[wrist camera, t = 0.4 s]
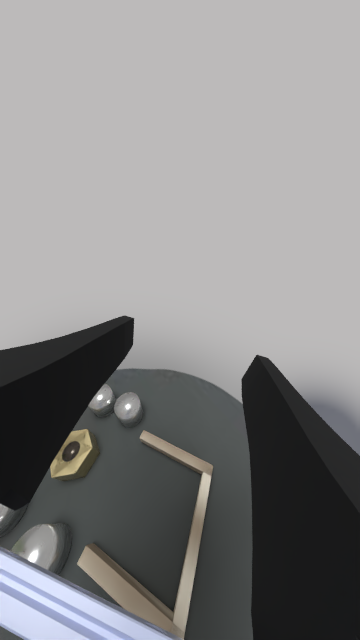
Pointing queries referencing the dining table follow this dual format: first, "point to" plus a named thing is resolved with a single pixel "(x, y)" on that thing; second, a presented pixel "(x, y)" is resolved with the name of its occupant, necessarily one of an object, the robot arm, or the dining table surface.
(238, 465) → the dining table surface
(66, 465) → the brass nut
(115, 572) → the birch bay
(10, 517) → the cylinder
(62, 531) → the cylinder
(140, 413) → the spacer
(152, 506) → the dining table surface
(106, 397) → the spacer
